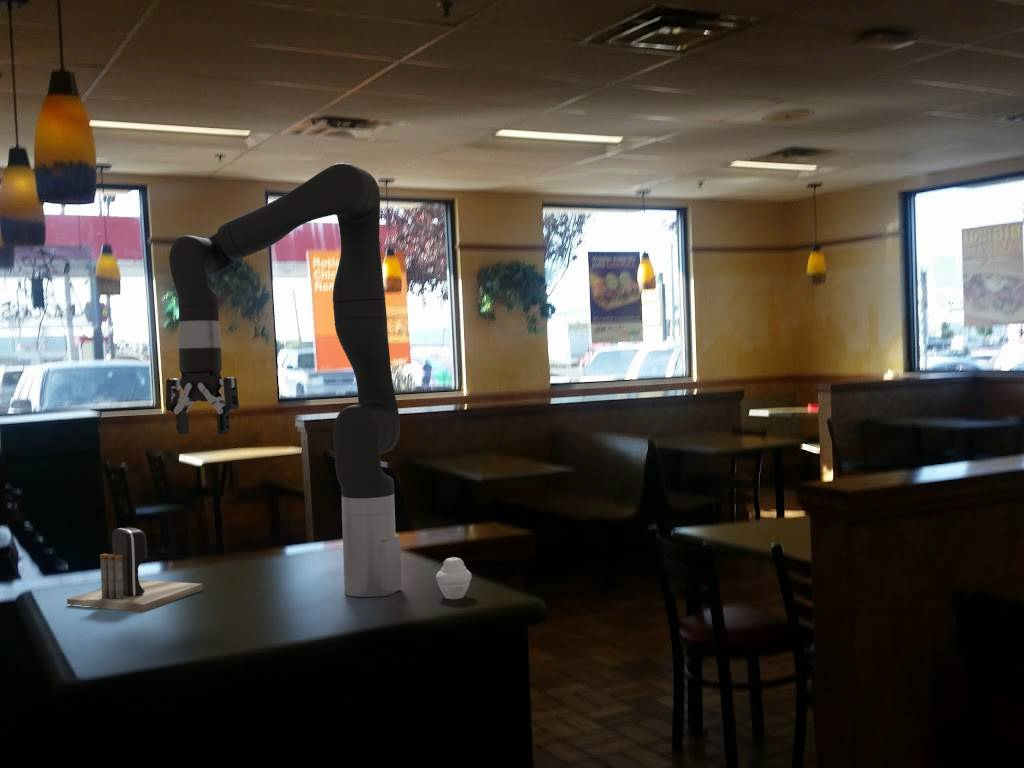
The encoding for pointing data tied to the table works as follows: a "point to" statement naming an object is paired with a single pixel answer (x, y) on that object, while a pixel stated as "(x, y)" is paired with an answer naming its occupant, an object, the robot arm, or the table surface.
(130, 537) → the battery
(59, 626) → the table surface
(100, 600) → the board
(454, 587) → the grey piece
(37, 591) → the table surface
